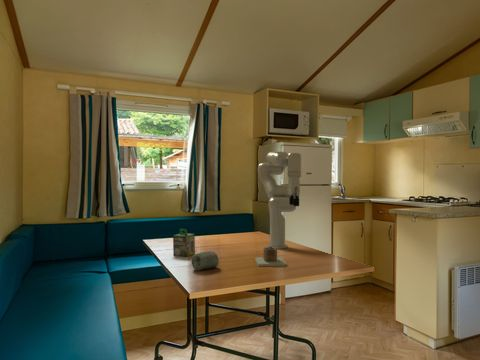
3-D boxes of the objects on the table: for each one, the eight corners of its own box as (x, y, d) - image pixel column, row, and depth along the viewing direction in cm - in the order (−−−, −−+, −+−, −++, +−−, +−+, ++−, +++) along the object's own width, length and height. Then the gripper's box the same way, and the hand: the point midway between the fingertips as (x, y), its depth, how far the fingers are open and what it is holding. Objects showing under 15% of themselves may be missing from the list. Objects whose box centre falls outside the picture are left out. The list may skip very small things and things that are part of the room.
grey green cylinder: (196, 266, 154) (197, 245, 159) (187, 272, 161) (188, 251, 166) (222, 270, 161) (222, 249, 166) (213, 275, 168) (213, 255, 173)
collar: (263, 259, 179) (263, 247, 179) (274, 258, 179) (274, 247, 179) (265, 261, 173) (265, 249, 173) (276, 261, 173) (277, 249, 173)
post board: (255, 259, 182) (255, 244, 182) (281, 259, 183) (281, 244, 183) (258, 266, 168) (258, 249, 168) (286, 265, 169) (286, 249, 169)
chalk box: (195, 253, 197) (195, 228, 197) (186, 257, 188) (186, 230, 188) (182, 252, 201) (182, 227, 201) (172, 255, 192) (172, 229, 192)
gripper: (284, 175, 200) (284, 204, 200) (291, 174, 183) (291, 206, 183) (297, 175, 201) (297, 204, 201) (304, 174, 183) (304, 206, 183)
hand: (294, 205), depth 192 cm, fingers open, 9 cm apart
